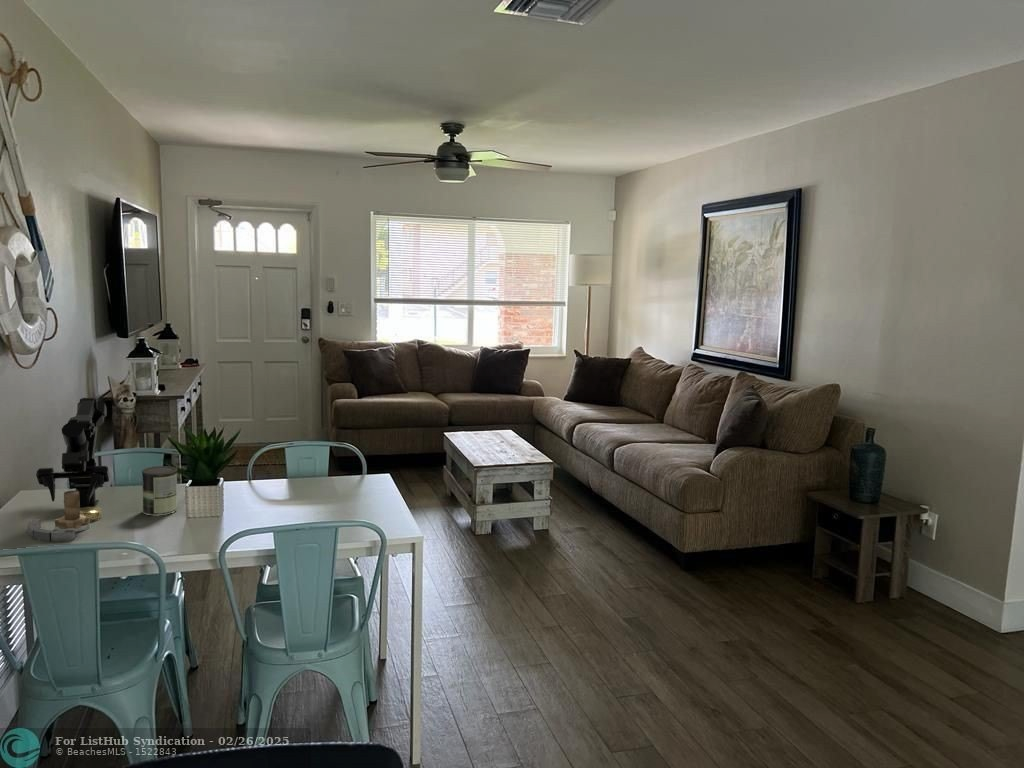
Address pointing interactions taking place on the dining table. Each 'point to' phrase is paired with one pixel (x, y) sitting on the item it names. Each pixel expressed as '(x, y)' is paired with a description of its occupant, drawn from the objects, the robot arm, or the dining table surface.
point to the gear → (72, 512)
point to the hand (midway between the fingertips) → (70, 499)
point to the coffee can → (159, 490)
